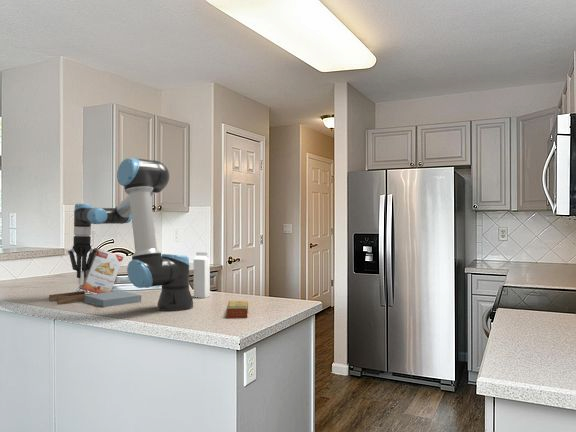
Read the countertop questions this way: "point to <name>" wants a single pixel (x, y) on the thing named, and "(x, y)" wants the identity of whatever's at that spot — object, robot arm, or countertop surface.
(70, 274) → the countertop surface
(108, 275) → the cracker box
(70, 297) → the slot rack
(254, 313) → the countertop surface
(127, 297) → the slate board
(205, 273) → the milk
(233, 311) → the carton
